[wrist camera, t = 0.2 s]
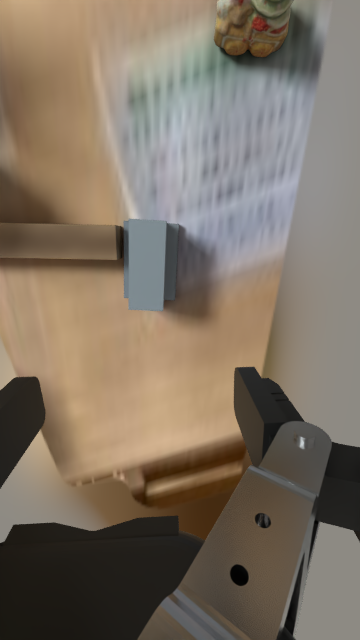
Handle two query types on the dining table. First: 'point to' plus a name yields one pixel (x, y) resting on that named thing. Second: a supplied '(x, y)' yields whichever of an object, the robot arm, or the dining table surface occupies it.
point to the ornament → (252, 25)
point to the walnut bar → (60, 241)
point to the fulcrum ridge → (150, 263)
